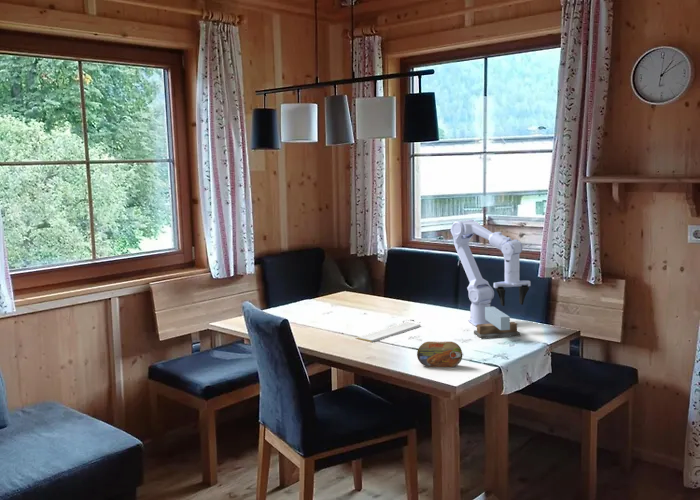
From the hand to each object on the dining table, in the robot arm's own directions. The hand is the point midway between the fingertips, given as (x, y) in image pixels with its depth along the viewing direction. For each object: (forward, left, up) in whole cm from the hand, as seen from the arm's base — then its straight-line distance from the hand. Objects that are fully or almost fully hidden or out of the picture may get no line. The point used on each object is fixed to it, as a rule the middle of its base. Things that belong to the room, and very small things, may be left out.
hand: (512, 304), depth 268 cm
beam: (+5, -8, -6) cm, 11 cm away
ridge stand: (+5, -8, -10) cm, 14 cm away
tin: (+37, -40, -11) cm, 55 cm away
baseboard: (-10, -48, -11) cm, 51 cm away
